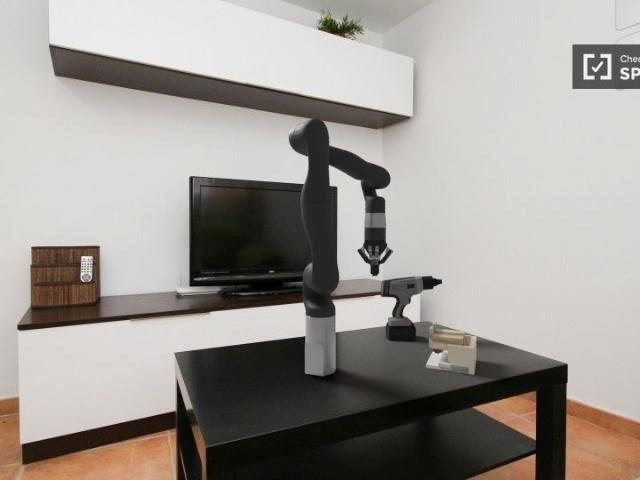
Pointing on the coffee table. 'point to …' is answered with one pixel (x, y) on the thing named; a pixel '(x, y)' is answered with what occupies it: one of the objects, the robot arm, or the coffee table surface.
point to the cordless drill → (404, 303)
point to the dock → (456, 357)
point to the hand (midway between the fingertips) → (374, 275)
